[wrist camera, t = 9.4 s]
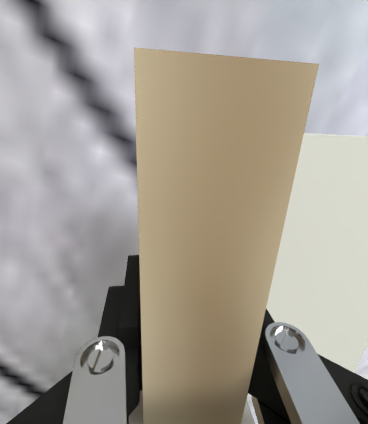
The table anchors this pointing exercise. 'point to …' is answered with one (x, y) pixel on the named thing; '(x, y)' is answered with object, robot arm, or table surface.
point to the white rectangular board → (326, 249)
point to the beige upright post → (210, 222)
